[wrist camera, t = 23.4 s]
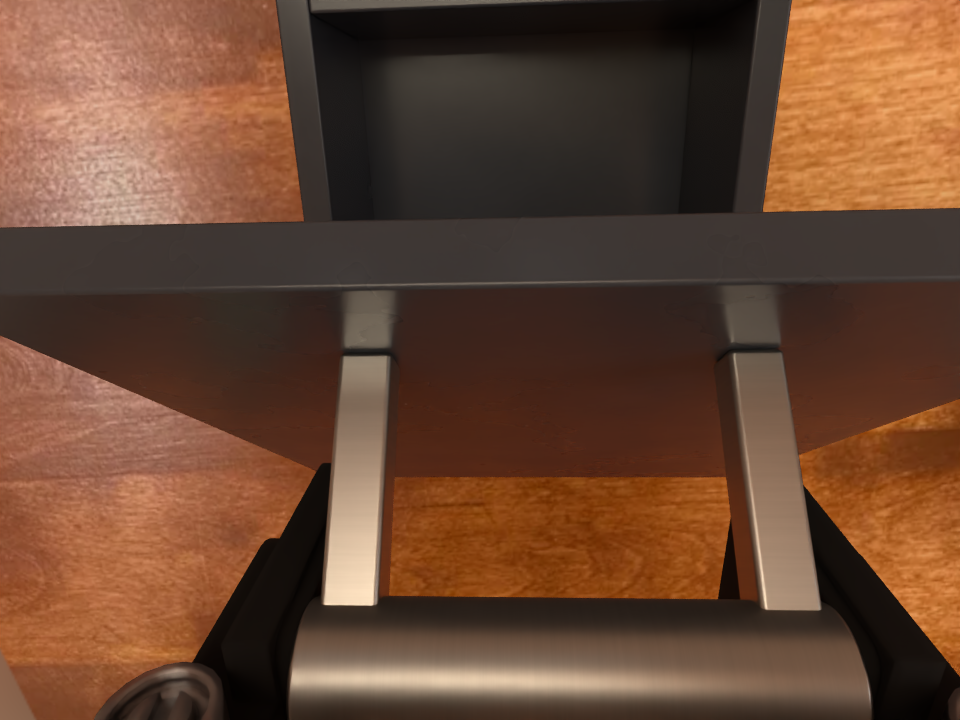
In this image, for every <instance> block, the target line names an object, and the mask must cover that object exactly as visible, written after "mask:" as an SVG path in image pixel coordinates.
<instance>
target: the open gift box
mask: <svg viewBox="0 0 960 720" xmlns="http://www.w3.org/2000/svg"><path fill="white" fill-rule="evenodd" d="M791 3H792V0H276V7H277V15H278V22H279V30H280V38H281V46H282V53H283V61H284V69H285V77H286V84H287V92H288V100H289V108H290V115H291V123H292V131H293V139H294V146H295V154H296V162H297V170H298V178H299V185H300V193H301V201H302V209H303V216H304V222H305V221H354V220H403V219H452V218H501V217H550V216H598V215H647V214H696V213H745V212H763V204H764V197H765V190H766V183H767V175H768V168H769V161H770V154H771V147H772V139H773V132H774V125H775V118H776V111H777V103H778V96H779V89H780V82H781V75H782V67H783V60H784V53H785V46H786V39H787V31H788V24H789V17H790V10H791Z"/></svg>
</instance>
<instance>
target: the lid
mask: <svg viewBox="0 0 960 720" xmlns="http://www.w3.org/2000/svg"><path fill="white" fill-rule="evenodd" d="M0 335H1V336H3V337H5V338H8V339H10V340H12V341H15V342H17V343H19V344H22V345H24V346H26V347H29V348H31V349H33V350H36V351H38V352H40V353H43V354H45V355H47V356H50V357H52V358H54V359H57V360H59V361H61V362H64V363H66V364H68V365H71V366H73V367H75V368H78V369H80V370H82V371H85V372H87V373H89V374H92V375H94V376H96V377H99V378H101V379H103V380H106V381H108V382H110V383H113V384H115V385H117V386H120V387H122V388H124V389H127V390H129V391H131V392H134V393H136V394H138V395H141V396H143V397H145V398H148V399H150V400H152V401H155V402H157V403H159V404H162V405H164V406H166V407H169V408H171V409H173V410H176V411H178V412H180V413H183V414H185V415H187V416H190V417H192V418H194V419H197V420H199V421H201V422H204V423H206V424H208V425H211V426H213V427H215V428H218V429H220V430H222V431H225V432H227V433H229V434H232V435H234V436H236V437H239V438H241V439H243V440H246V441H248V442H250V443H253V444H255V445H257V446H260V447H262V448H264V449H267V450H269V451H271V452H274V453H276V454H278V455H281V456H283V457H285V458H288V459H290V460H292V461H295V462H297V463H299V464H302V465H304V466H306V467H309V468H311V469H313V470H316V471H317V470H318V468H319V467H320V465H321V464H322V463H331V475H330V487H329V500H328V512H327V525H326V537H325V550H324V562H323V575H322V587H321V595H320V596H318V597H315V598H314V599H312V600H311V601H310V603H309V604H308V606H307V607H306V609H305V611H304V613H303V615H302V618H301V620H300V623H299V626H298V629H297V632H296V636H295V639H294V643H293V647H292V652H291V657H290V663H289V670H288V679H287V693H286V710H287V720H874V707H873V697H872V691H871V686H870V681H869V677H868V673H867V669H866V666H865V663H864V659H863V657H862V654H861V651H860V649H859V646H858V644H857V642H856V640H855V638H854V636H853V634H852V632H851V630H850V628H849V627H848V625H847V624H846V622H845V621H844V619H843V618H842V617H841V616H840V614H839V613H838V612H837V611H836V610H835V609H833V608H832V607H831V606H829V605H828V604H826V603H823V602H821V599H820V593H819V586H818V580H817V573H816V566H815V560H814V553H813V547H812V540H811V534H810V527H809V520H808V514H807V507H806V501H805V494H804V488H803V481H802V474H801V468H800V461H799V454H802V453H805V452H808V451H811V450H814V449H817V448H820V447H822V446H825V445H828V444H831V443H834V442H837V441H840V440H843V439H845V438H848V437H851V436H854V435H857V434H860V433H863V432H865V431H868V430H871V429H874V428H877V427H880V426H883V425H886V424H888V423H891V422H894V421H897V420H900V419H903V418H906V417H909V416H911V415H914V414H917V413H920V412H923V411H926V410H929V409H932V408H934V407H937V406H940V405H943V404H946V403H949V402H952V401H955V400H957V399H960V208H940V209H891V210H843V211H794V212H745V213H696V214H647V215H598V216H550V217H501V218H452V219H403V220H354V221H305V222H256V223H208V224H159V225H110V226H61V227H12V228H0ZM395 477H726V479H727V487H728V496H729V505H730V513H731V522H732V531H733V539H734V548H735V557H736V566H737V574H738V583H739V592H740V600H734V599H637V598H539V597H442V596H389V584H390V564H391V543H392V522H393V502H394V481H395Z"/></svg>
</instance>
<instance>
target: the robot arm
mask: <svg viewBox="0 0 960 720" xmlns="http://www.w3.org/2000/svg"><path fill="white" fill-rule="evenodd" d="M330 475H331V463H322V464H321V465H320V467H319V468H318V470H317V472H316V474H315V476H314V477H313V479H312V481H311V483H310V485H309V486H308V488H307V490H306V492H305V494H304V495H303V497H302V499H301V501H300V503H299V504H298V506H297V508H296V510H295V512H294V513H293V515H292V517H291V519H290V521H289V522H288V524H287V526H286V528H285V530H284V531H283V533H282V535H281V537H280V538H270V539H268V540H266V541H265V542H264V543H263V544H262V545H261V547H260V548H259V550H258V552H257V554H256V555H255V557H254V559H253V560H252V562H251V564H250V565H249V567H248V569H247V570H246V572H245V574H244V576H243V577H242V579H241V581H240V582H239V584H238V586H237V587H236V589H235V591H234V593H233V594H232V596H231V598H230V599H229V601H228V603H227V604H226V606H225V608H224V610H223V611H222V613H221V615H220V616H219V618H218V620H217V621H216V623H215V625H214V627H213V628H212V630H211V632H210V633H209V635H208V637H207V638H206V640H205V642H204V644H203V645H202V647H201V649H200V650H199V652H198V654H197V655H196V657H195V659H194V660H193V662H192V663H190V662H180V663H174V664H167V665H163V666H161V667H158V668H155V669H153V670H150V671H147V672H145V673H143V674H141V675H140V676H138V677H136V678H135V679H133V680H131V681H130V682H128V683H126V684H125V685H124V686H123V687H122V688H120V689H119V690H118V691H117V692H116V693H114V694H113V695H112V696H111V697H110V698H109V699H108V700H107V702H106V703H105V704H104V705H103V707H102V708H101V709H100V710H99V712H98V713H97V714H96V716H95V718H94V720H287V710H286V693H287V679H288V670H289V663H290V657H291V652H292V647H293V643H294V639H295V636H296V632H297V629H298V626H299V623H300V620H301V618H302V615H303V613H304V611H305V609H306V607H307V606H308V604H309V603H310V601H311V600H312V599H314V598H315V597H318V596H320V595H321V587H322V575H323V562H324V550H325V537H326V525H327V512H328V500H329V487H330ZM803 488H804V494H805V501H806V507H807V514H808V520H809V527H810V534H811V540H812V547H813V553H814V560H815V566H816V573H817V580H818V586H819V593H820V599H821V602H823V603H826V604H828V605H829V606H831V607H832V608H833V609H835V610H836V611H837V612H838V613H839V614H840V616H841V617H842V618H843V619H844V621H845V622H846V624H847V625H848V627H849V628H850V630H851V632H852V634H853V636H854V638H855V640H856V642H857V644H858V646H859V649H860V651H861V654H862V657H863V659H864V663H865V666H866V669H867V673H868V677H869V681H870V686H871V691H872V697H873V707H874V720H960V677H959V675H958V674H957V673H956V672H955V670H954V669H953V668H952V667H951V666H950V664H949V663H948V662H947V661H946V659H945V658H944V657H943V656H942V654H941V653H940V652H939V651H938V649H937V648H936V647H935V646H934V645H933V643H932V642H931V641H930V640H929V638H928V637H927V636H926V635H925V633H924V632H923V631H922V630H921V629H920V627H919V626H918V625H917V624H916V622H915V621H914V620H913V619H912V617H911V616H910V615H909V614H908V612H907V611H906V610H905V609H904V608H903V606H902V605H901V604H900V603H899V601H898V600H897V599H896V598H895V596H894V595H893V594H892V593H891V592H890V590H889V589H888V588H887V587H886V585H885V584H884V583H883V582H882V580H881V579H880V578H879V577H878V575H877V574H876V573H875V572H874V571H873V569H872V568H871V567H870V566H869V564H868V563H867V562H866V561H865V559H864V558H863V557H862V556H861V555H860V554H859V553H858V552H857V551H856V550H855V548H854V547H853V546H852V545H851V544H850V542H849V541H848V540H847V539H846V537H845V536H844V535H843V534H842V532H841V531H840V530H839V529H838V527H837V526H836V525H835V524H834V522H833V521H832V520H831V519H830V518H829V516H828V515H827V514H826V513H825V511H824V510H823V509H822V508H821V506H820V505H819V504H818V503H817V501H816V500H815V499H814V498H813V496H812V495H811V494H810V493H809V492H808V490H807V489H806V488H805V487H804V485H803ZM718 599H734V600H740V592H739V583H738V574H737V566H736V557H735V548H734V539H733V531H732V522H731V520H730V526H729V532H728V539H727V545H726V551H725V558H724V564H723V570H722V577H721V583H720V589H719V596H718Z"/></svg>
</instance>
